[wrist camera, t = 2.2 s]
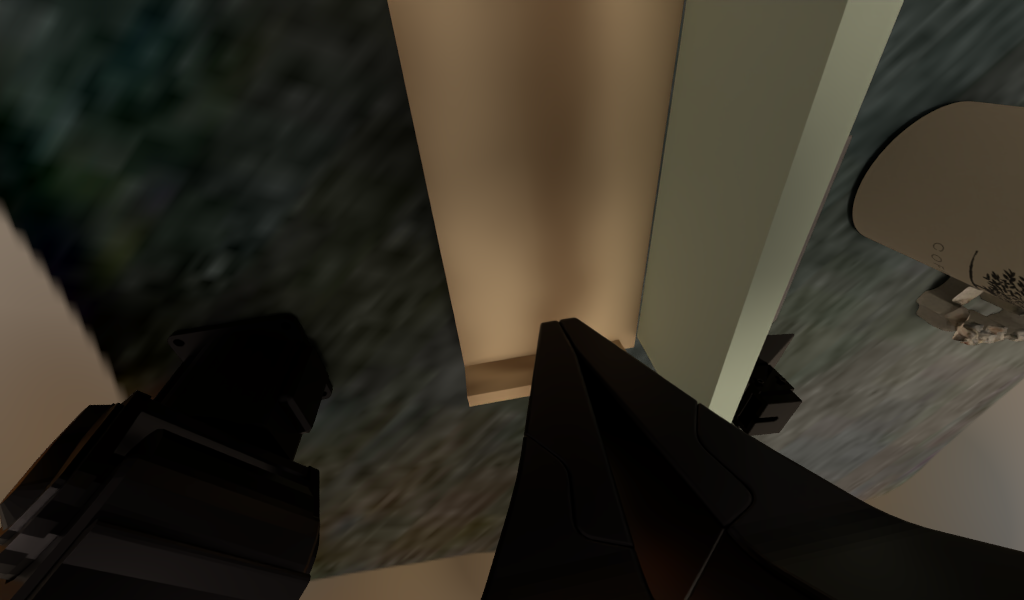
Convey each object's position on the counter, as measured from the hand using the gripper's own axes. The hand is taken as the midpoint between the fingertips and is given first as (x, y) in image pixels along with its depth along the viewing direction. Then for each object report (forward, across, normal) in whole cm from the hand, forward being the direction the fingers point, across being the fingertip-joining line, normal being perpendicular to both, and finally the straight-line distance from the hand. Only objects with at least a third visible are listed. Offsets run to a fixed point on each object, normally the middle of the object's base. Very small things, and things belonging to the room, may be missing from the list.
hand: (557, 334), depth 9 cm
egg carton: (+12, -37, +13) cm, 41 cm away
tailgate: (+9, -7, 0) cm, 11 cm away
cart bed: (+12, -2, 0) cm, 12 cm away
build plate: (+13, -18, +19) cm, 29 cm away
